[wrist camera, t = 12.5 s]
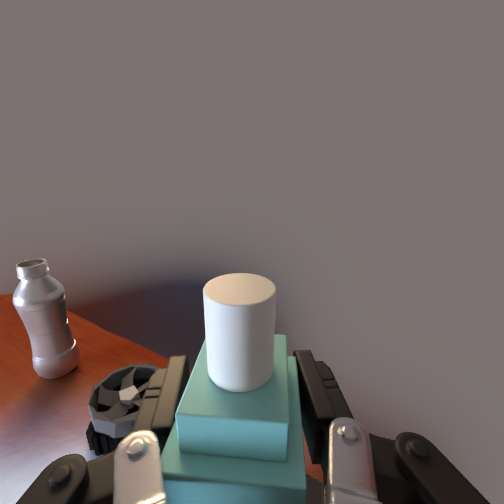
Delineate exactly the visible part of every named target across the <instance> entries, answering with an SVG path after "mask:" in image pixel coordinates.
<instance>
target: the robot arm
mask: <svg viewBox="0 0 504 504" xmlns="http://www.w3.org/2000/svg"><path fill="white" fill-rule="evenodd" d="M293 356H295V357H296V358H297V371H298V383H299V396H300V408H301V421H302V427H303V431H304V434H305V438H306V442H307V446H308V449H309V453H310V457H311V461H312V464H321V467H322V470H323V481H322V504H490V503H489V502H488V501H487V500H486V499H485V498H484V497H483V496H482V495H481V494H480V493H479V491H478V490H477V489H476V488H475V487H474V486H473V485H472V484H471V483H470V482H469V481H468V480H467V479H466V478H465V477H464V476H463V475H462V474H461V473H460V472H459V471H458V470H457V469H456V468H455V466H454V465H453V464H452V463H451V462H449V460H448V459H447V458H446V457H445V456H444V455H443V454H442V453H441V452H440V451H439V450H438V449H437V448H436V447H435V446H434V445H433V444H432V443H431V442H430V441H429V440H427V439H426V438H424V437H423V436H421V435H419V434H416V433H412V432H404V433H401V434H399V435H398V436H397V438H396V440H395V441H394V440H390V439H386V438H382V437H378V436H375V435H372V434H370V433H368V432H367V430H366V429H365V428H364V426H363V425H362V424H360V423H359V422H357V421H356V420H354V418H353V416H352V414H351V411H350V409H349V407H348V405H347V403H346V401H345V399H344V397H343V394H342V392H341V390H340V388H339V386H338V383H337V382H336V380H335V377H334V375H333V373H332V371H331V369H330V368H329V367H328V366H327V365H326V364H325V363H324V362H323V361H315V360H314V358H313V355H312V353H311V351H310V350H296V351H294V352H293ZM189 378H190V374H189V363H188V356H187V355H182V356H171V357H170V359H169V362H168V366H167V368H163V369H157V370H156V371H155V373H154V374H153V375H152V376H151V377H150V379H149V382H148V385H147V388H146V390H145V393H144V396H143V399H142V402H141V405H140V407H139V410H138V413H137V416H136V419H135V422H134V424H133V427H132V430H131V433H130V434H129V435H128V436H126V437H125V438H124V439H123V440H122V441H121V442H120V443H119V445H118V446H117V448H116V450H114V451H113V452H111V453H109V454H107V455H104V456H101V457H99V458H96V459H93V460H91V461H88V462H86V460H85V458H84V457H83V456H81V455H79V454H69V455H65V456H63V457H60V458H58V459H57V460H55V461H53V462H52V463H51V464H49V465H48V466H47V467H46V468H45V469H44V470H43V471H42V472H41V474H40V475H39V476H38V477H37V478H36V480H35V481H34V482H33V483H32V485H31V486H30V487H29V488H28V489H27V491H26V492H25V493H24V494H23V495H22V497H21V498H20V499H19V500H18V502H17V503H16V504H167V501H166V494H165V486H164V479H163V472H162V465H161V454H162V452H163V449H164V447H165V444H166V442H167V439H168V437H169V434H170V432H171V430H172V426H173V424H174V421H175V413H176V411H177V408H178V406H179V403H180V401H181V398H182V396H183V393H184V391H185V388H186V386H187V383H188V381H189Z"/></svg>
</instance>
